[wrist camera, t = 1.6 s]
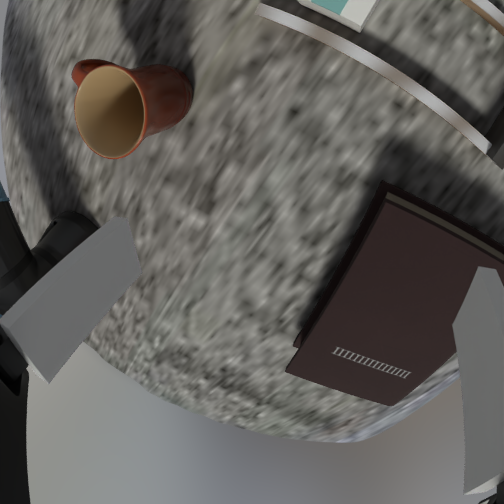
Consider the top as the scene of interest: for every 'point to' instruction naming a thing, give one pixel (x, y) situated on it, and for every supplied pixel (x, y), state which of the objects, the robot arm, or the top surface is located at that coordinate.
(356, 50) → the rail board
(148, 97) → the mug
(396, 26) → the top surface
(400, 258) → the book
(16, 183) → the top surface
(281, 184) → the top surface
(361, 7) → the block
